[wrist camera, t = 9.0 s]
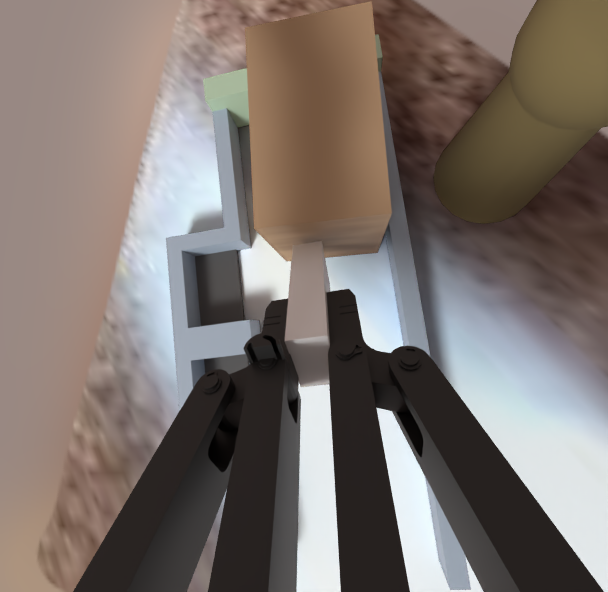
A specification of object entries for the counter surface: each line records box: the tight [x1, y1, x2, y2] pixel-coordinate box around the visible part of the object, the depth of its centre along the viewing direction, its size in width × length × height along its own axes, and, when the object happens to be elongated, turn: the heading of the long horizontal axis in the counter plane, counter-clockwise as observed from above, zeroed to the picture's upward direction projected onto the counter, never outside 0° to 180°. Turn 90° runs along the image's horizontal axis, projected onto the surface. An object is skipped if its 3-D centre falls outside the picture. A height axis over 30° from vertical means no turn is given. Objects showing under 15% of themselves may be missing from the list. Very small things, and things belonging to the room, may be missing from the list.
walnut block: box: [245, 1, 392, 261], centre depth 17 cm, size 6×10×7 cm, turn 4°
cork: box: [433, 0, 608, 224], centre depth 14 cm, size 6×6×11 cm
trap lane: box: [166, 34, 471, 590], centre depth 19 cm, size 15×30×3 cm, turn 8°
